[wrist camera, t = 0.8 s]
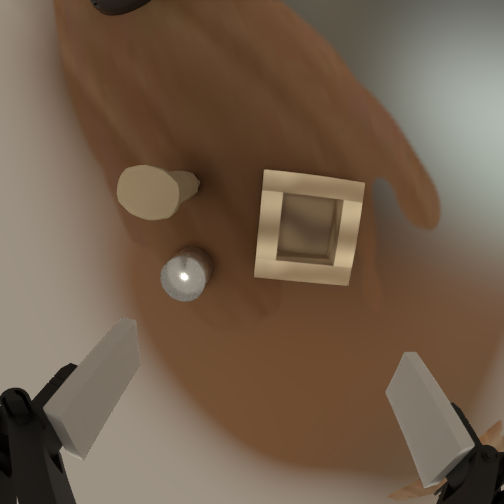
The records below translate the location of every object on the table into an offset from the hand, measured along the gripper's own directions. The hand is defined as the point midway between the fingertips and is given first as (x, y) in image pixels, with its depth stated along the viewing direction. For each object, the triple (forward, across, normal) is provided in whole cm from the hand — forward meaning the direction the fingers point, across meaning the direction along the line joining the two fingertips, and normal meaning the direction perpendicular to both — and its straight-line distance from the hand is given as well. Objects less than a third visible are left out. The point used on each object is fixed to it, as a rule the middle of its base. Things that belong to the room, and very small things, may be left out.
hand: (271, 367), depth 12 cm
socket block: (+29, +5, +2) cm, 29 cm away
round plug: (+29, -11, -6) cm, 31 cm away
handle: (+29, -12, +6) cm, 32 cm away
